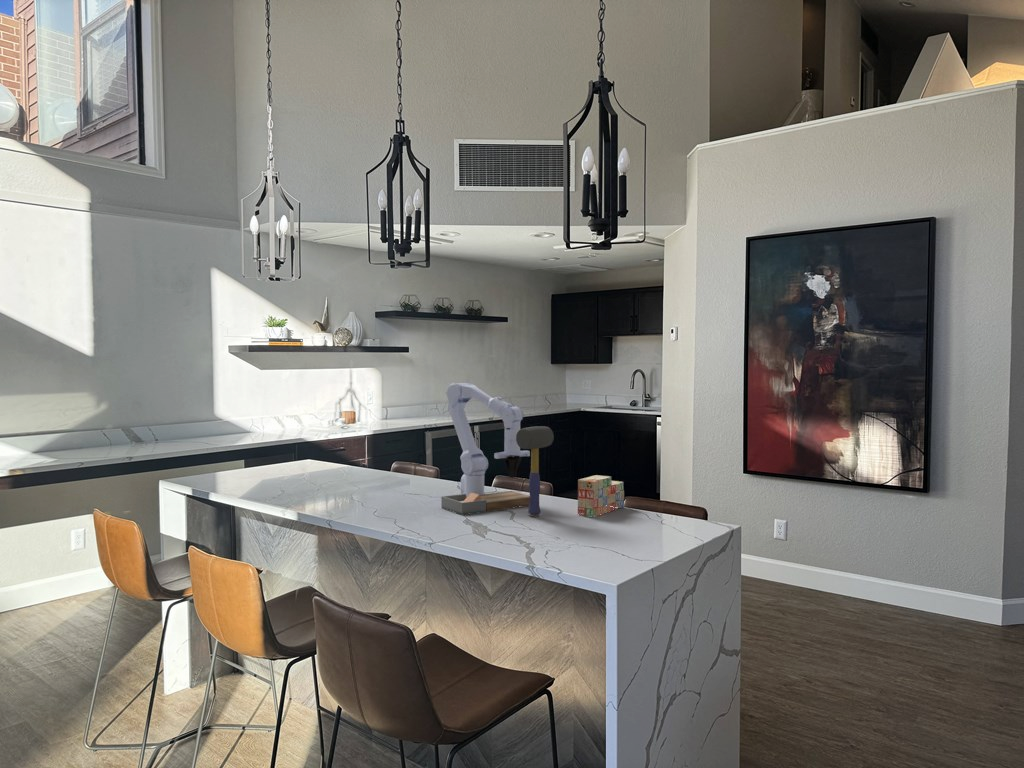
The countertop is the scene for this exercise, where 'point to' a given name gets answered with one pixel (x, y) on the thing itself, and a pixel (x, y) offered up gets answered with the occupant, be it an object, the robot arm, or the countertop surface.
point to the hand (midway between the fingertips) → (512, 477)
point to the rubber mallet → (534, 459)
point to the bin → (462, 504)
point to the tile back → (472, 497)
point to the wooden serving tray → (505, 500)
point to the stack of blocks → (599, 495)
